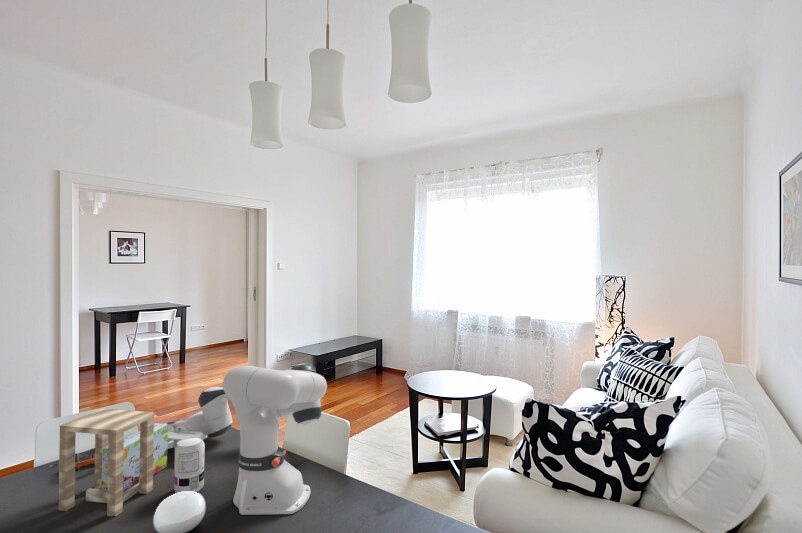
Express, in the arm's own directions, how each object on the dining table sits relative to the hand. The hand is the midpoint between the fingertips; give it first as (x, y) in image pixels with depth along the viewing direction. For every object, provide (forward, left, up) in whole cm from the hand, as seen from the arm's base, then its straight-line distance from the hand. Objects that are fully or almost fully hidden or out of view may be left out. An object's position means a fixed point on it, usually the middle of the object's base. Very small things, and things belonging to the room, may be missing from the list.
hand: (158, 448), depth 142 cm
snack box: (-1, +11, -6) cm, 12 cm away
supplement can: (-20, +12, -6) cm, 24 cm away
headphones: (+25, +4, -6) cm, 26 cm away
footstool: (0, +21, -6) cm, 22 cm away
